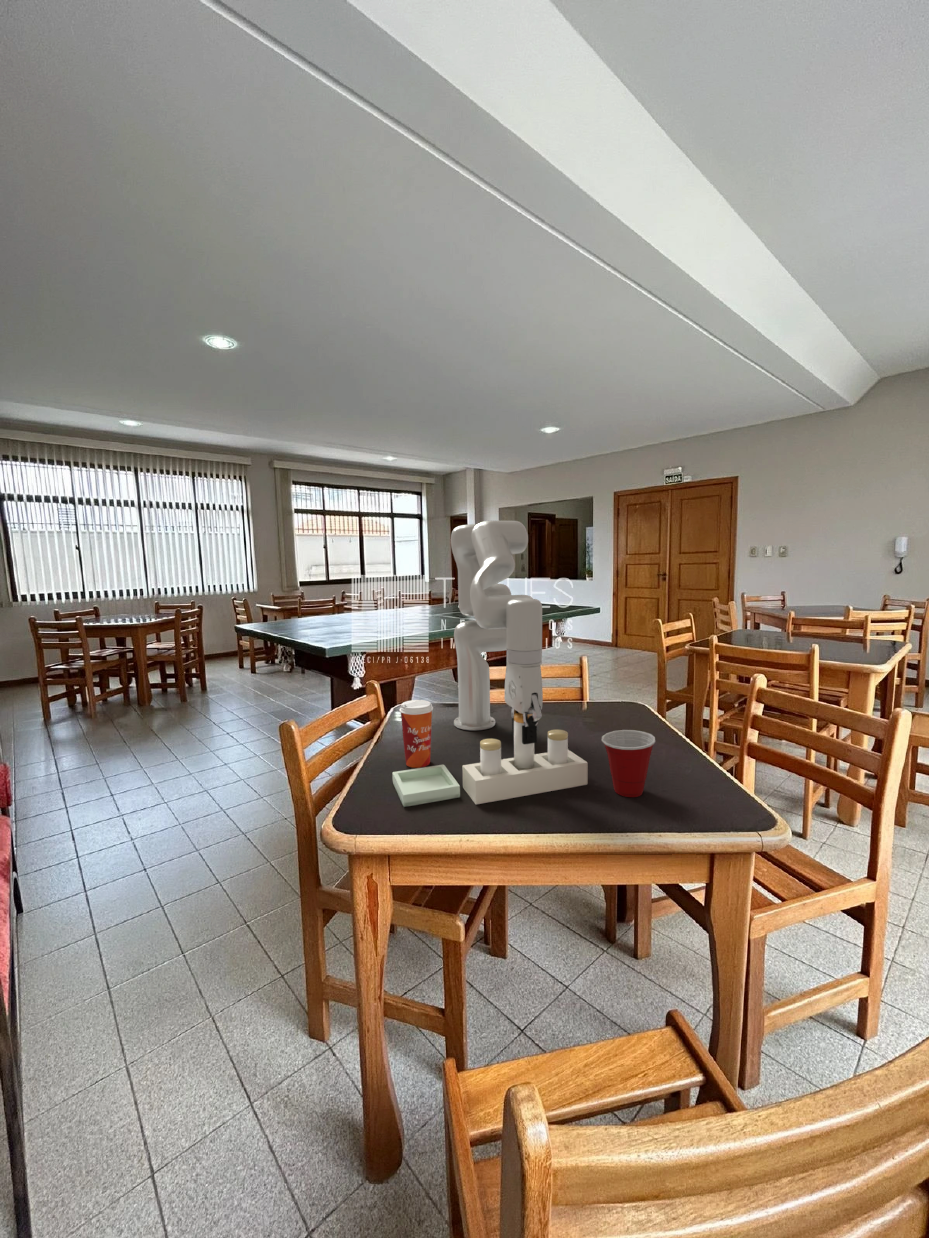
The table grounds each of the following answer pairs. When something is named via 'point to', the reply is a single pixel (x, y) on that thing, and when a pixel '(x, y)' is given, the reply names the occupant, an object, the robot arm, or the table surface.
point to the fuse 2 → (557, 747)
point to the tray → (425, 785)
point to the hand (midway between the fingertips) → (524, 738)
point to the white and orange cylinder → (522, 745)
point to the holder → (523, 778)
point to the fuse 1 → (490, 757)
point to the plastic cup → (628, 760)
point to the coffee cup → (417, 732)
